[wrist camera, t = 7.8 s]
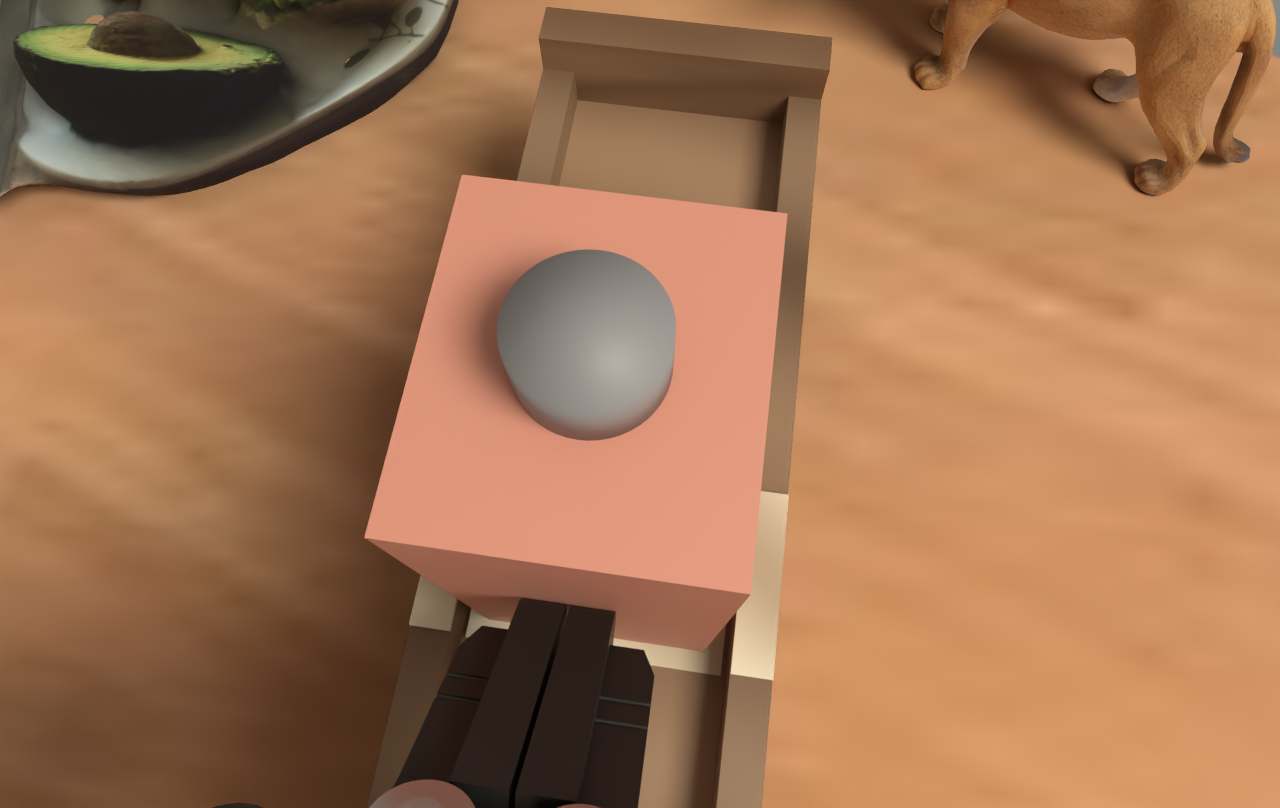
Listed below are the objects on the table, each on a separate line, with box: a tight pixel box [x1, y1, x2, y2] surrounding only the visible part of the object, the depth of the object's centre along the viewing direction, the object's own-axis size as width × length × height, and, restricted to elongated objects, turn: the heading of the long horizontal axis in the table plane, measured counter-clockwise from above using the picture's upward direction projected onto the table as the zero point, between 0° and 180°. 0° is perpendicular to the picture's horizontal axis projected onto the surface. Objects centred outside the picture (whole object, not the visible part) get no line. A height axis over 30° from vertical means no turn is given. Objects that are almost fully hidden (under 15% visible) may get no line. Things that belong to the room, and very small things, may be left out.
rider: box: [364, 175, 787, 652], centre depth 13 cm, size 5×4×9 cm
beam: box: [367, 7, 832, 808], centre depth 19 cm, size 28×7×8 cm, turn 172°
